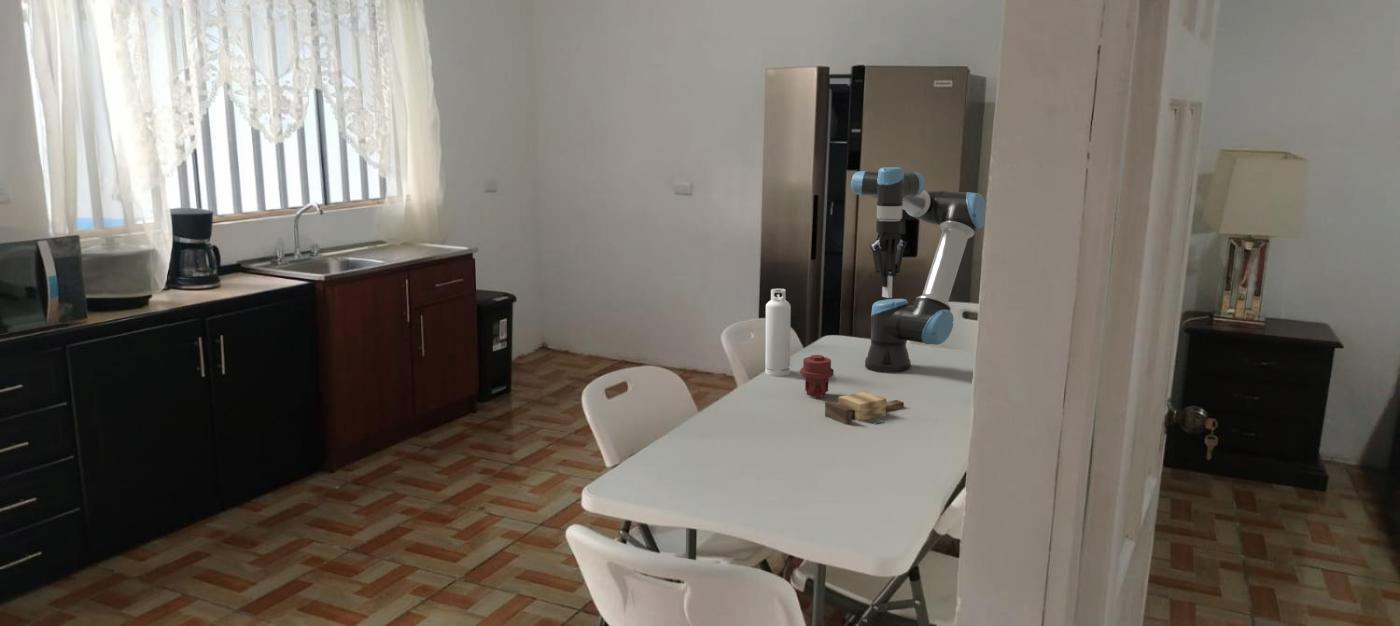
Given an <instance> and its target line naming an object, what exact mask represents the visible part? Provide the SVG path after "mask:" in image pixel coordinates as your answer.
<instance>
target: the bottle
mask: <svg viewBox="0 0 1400 626" xmlns="http://www.w3.org/2000/svg"><path fill="white" fill-rule="evenodd" d="M777 293H778V294H777ZM775 294H776V295H775ZM780 294H781V296H780ZM786 298H787V297H786V289H785V288H771V289H770V300H769V301H768V302H766V304H765V360H764V361H765V374H766V375H768V376H771V377H773V376H775V377H784V376H788V375H790V373H791V368H790V367H791V308H792V307H791V304H790V302H789V301H787V300H786Z"/></svg>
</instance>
